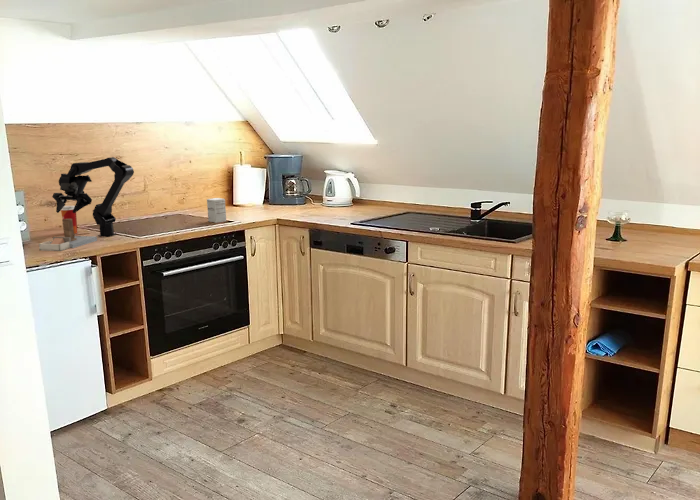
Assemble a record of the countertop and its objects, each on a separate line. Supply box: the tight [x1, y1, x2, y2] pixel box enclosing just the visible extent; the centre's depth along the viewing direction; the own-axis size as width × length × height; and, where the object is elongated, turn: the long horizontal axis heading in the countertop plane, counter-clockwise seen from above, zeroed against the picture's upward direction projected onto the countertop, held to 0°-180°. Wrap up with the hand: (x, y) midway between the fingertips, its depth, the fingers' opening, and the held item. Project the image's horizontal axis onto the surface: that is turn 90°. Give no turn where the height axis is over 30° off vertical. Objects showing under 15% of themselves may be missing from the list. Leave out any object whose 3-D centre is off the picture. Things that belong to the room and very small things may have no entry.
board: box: [50, 235, 98, 249], centre depth 291 cm, size 17×14×2 cm
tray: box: [38, 240, 71, 252], centre depth 279 cm, size 6×11×3 cm, turn 75°
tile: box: [51, 238, 65, 244], centre depth 281 cm, size 4×4×2 cm
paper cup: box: [60, 205, 78, 235], centre depth 315 cm, size 8×8×14 cm
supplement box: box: [206, 197, 227, 224], centre depth 341 cm, size 7×7×13 cm
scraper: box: [52, 219, 77, 243], centre depth 286 cm, size 7×9×10 cm
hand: (65, 212), depth 296 cm, fingers open, 9 cm apart
